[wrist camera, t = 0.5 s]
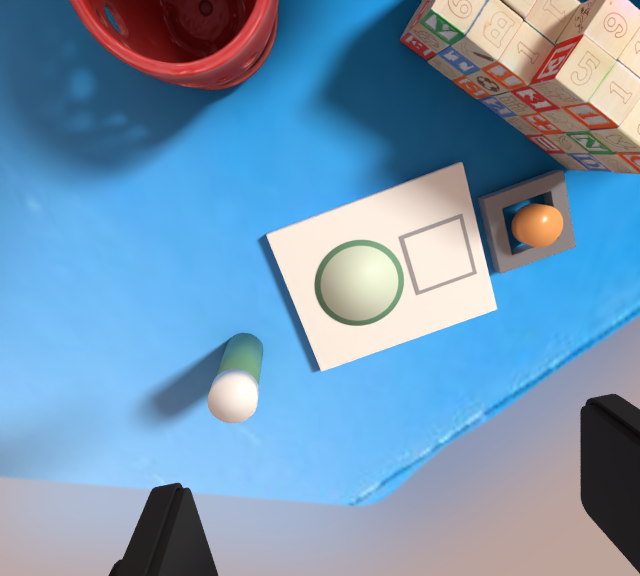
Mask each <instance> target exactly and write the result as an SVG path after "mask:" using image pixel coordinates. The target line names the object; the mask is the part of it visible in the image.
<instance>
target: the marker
mask: <svg viewBox="0 0 640 576" xmlns="http://www.w3.org/2000/svg"><path fill="white" fill-rule="evenodd" d="M262 356H263V346H262V343H261V342H260V340H259V339H258V338H257V337H255V336H254V335H252V334H248V333H240V334H237V335H235V336H233V337H232V338H231V339H230V340H229V341H228V343H227V345H226V348H225V351H224V354H223V357H222V360H221V363H220V366H219V369H218V372H217V375H216V378H215V379H214V381H213V383H212V386H211V389H210V392H209V395H208V400H207V403H208V407H209V410H210V412H211V413H212V414H213V415H214V416H215V417H216V418H217V419H219V420H221V421H223V422H227V423H238V422H242V421H244V420H246V419H248V418H249V417H250V416H252V414H253V413H254V412H255V410H256V407H257V401H258V394H259V386H258V385H259V378H260V371H261V364H262Z"/></svg>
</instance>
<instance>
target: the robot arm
mask: <svg viewBox="0 0 640 576" xmlns="http://www.w3.org/2000/svg"><path fill="white" fill-rule="evenodd" d="M581 501H582V504H583V506H584V509H585V510H586V512H587V514H588V515H589V516H590V517H591V518H592V520H593V521H594V522H595V523H596V524H597V525H598V526H599V528H600V529H601V530H603V532H604V533H605V534H606V535H607V537H608V538H609V539H610V540H611V541H612V542H613V543H614V545H615V546H616V547H617V548H618V549H619V550H620V551H621V552H622V554H623V555H624V556H625V557H626V558H627V559H628V560H629V562H630V563H631V564H632V565H633V566H634V567H635V569H636V570H637V571H638V572H639V573H640V410H639V409H638V408H637V407H635V406H634V405H632V404H631V403H629V402H628V401H626V400H625V399H623V398H622V397H620V396H618V395H616V394H610V395H604V396H599V397H595V398H590V399H588V400H587V402H586V405H585V406H584V407H582V409H581ZM109 576H218V573H217V570H216V567H215V564H214V561H213V558H212V554H211V551H210V549H209V545H208V542H207V539H206V536H205V533H204V530H203V527H202V524H201V520H200V517H199V514H198V511H197V508H196V505H195V502H194V499H193V496H192V493H191V490H190V489H189V488H183V487H182V485H181V484H180V483H174V484H169V485H164V486H159V487H155V488H153V489H152V491H151V493H150V495H149V497H148V500H147V502H146V505H145V507H144V509H143V512H142V514H141V516H140V519H139V521H138V524H137V526H136V528H135V531H134V533H133V535H132V538H131V540H130V543H129V545H128V547H127V550H126V552H125V554H124V557H123V559H122V560H119V561H118V562H116V563H115V564H114V566H113V568H112V570H111V572H110V574H109Z"/></svg>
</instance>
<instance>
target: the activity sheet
mask: <svg viewBox="0 0 640 576" xmlns="http://www.w3.org/2000/svg"><path fill="white" fill-rule="evenodd" d="M266 236H267V238H268V241H269V243H270V245H271V248H272V250H273V253H274V255H275V258H276V260H277V263H278V265H279V268H280V270H281V273H282V275H283V278H284V280H285V283H286V285H287V288H288V290H289V292H290V295H291V297H292V300H293V302H294V305H295V307H296V310H297V312H298V315H299V317H300V320H301V322H302V325H303V327H304V330H305V332H306V334H307V337H308V339H309V342H310V344H311V347H312V349H313V352H314V354H315V357H316V359H317V362H318V364H319V367H320V369H321V372H322V371H324V370H327V369H330V368H333V367H336V366H339V365H341V364H344V363H347V362H350V361H353V360H356V359H358V358H361V357H364V356H367V355H370V354H373V353H375V352H378V351H381V350H384V349H387V348H389V347H392V346H395V345H398V344H401V343H404V342H406V341H409V340H412V339H415V338H418V337H421V336H423V335H426V334H429V333H432V332H435V331H437V330H440V329H443V328H446V327H449V326H452V325H454V324H457V323H460V322H463V321H466V320H469V319H471V318H474V317H477V316H480V315H483V314H485V313H488V312H491V311H494V310H497V306H496V302H495V298H494V294H493V289H492V285H491V281H490V277H489V272H488V268H487V264H486V260H485V255H484V251H483V247H482V243H481V238H480V234H479V230H478V226H477V221H476V217H475V213H474V209H473V205H472V200H471V196H470V192H469V188H468V183H467V179H466V175H465V171H464V166H463V162H458V163H455V164H452V165H449V166H447V167H444V168H441V169H439V170H436V171H433V172H431V173H428V174H425V175H423V176H420V177H417V178H414V179H412V180H409V181H406V182H404V183H401V184H398V185H396V186H393V187H390V188H387V189H385V190H382V191H379V192H377V193H374V194H371V195H369V196H366V197H363V198H360V199H358V200H355V201H352V202H350V203H347V204H344V205H342V206H339V207H336V208H333V209H331V210H328V211H325V212H323V213H320V214H317V215H315V216H312V217H309V218H306V219H304V220H301V221H298V222H296V223H293V224H290V225H288V226H285V227H282V228H280V229H277V230H274V231H271V232H269V233H267V234H266Z"/></svg>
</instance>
